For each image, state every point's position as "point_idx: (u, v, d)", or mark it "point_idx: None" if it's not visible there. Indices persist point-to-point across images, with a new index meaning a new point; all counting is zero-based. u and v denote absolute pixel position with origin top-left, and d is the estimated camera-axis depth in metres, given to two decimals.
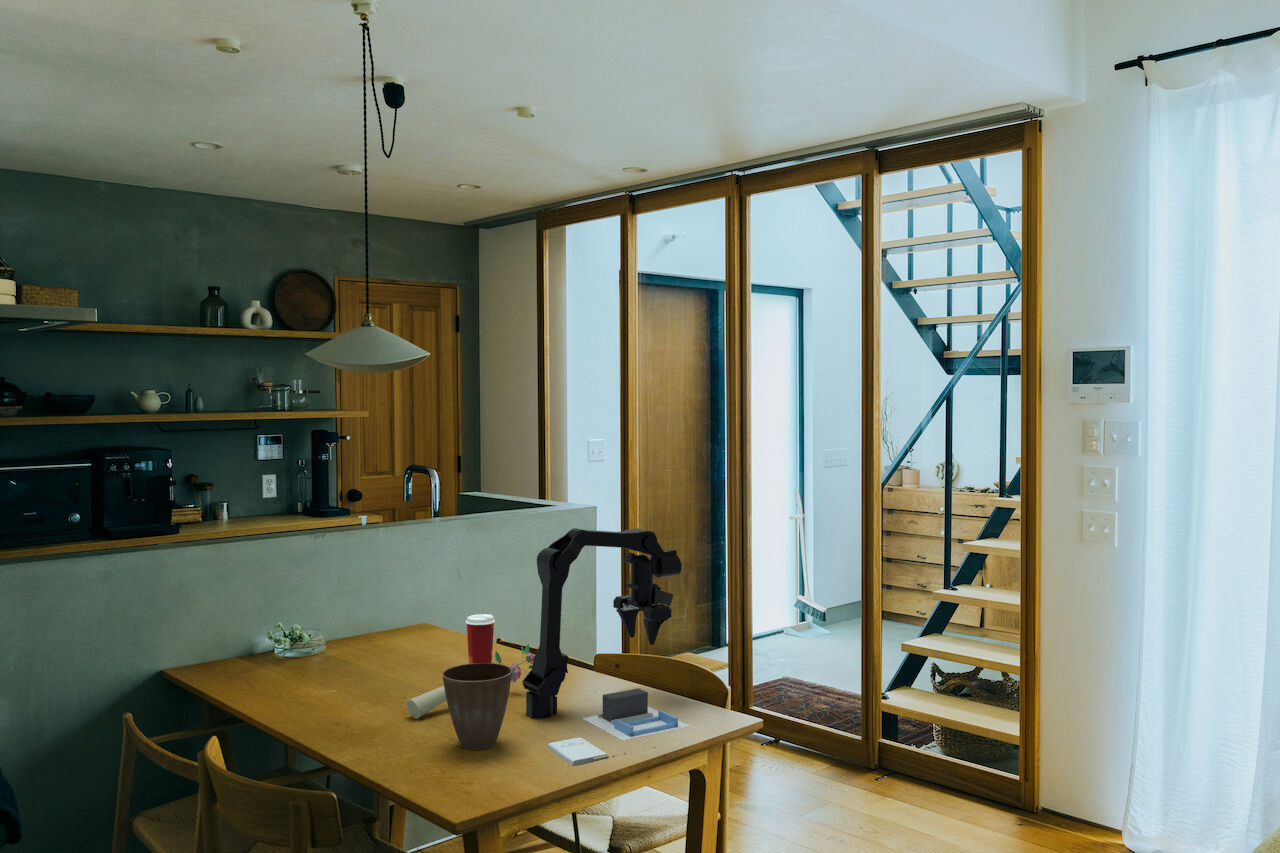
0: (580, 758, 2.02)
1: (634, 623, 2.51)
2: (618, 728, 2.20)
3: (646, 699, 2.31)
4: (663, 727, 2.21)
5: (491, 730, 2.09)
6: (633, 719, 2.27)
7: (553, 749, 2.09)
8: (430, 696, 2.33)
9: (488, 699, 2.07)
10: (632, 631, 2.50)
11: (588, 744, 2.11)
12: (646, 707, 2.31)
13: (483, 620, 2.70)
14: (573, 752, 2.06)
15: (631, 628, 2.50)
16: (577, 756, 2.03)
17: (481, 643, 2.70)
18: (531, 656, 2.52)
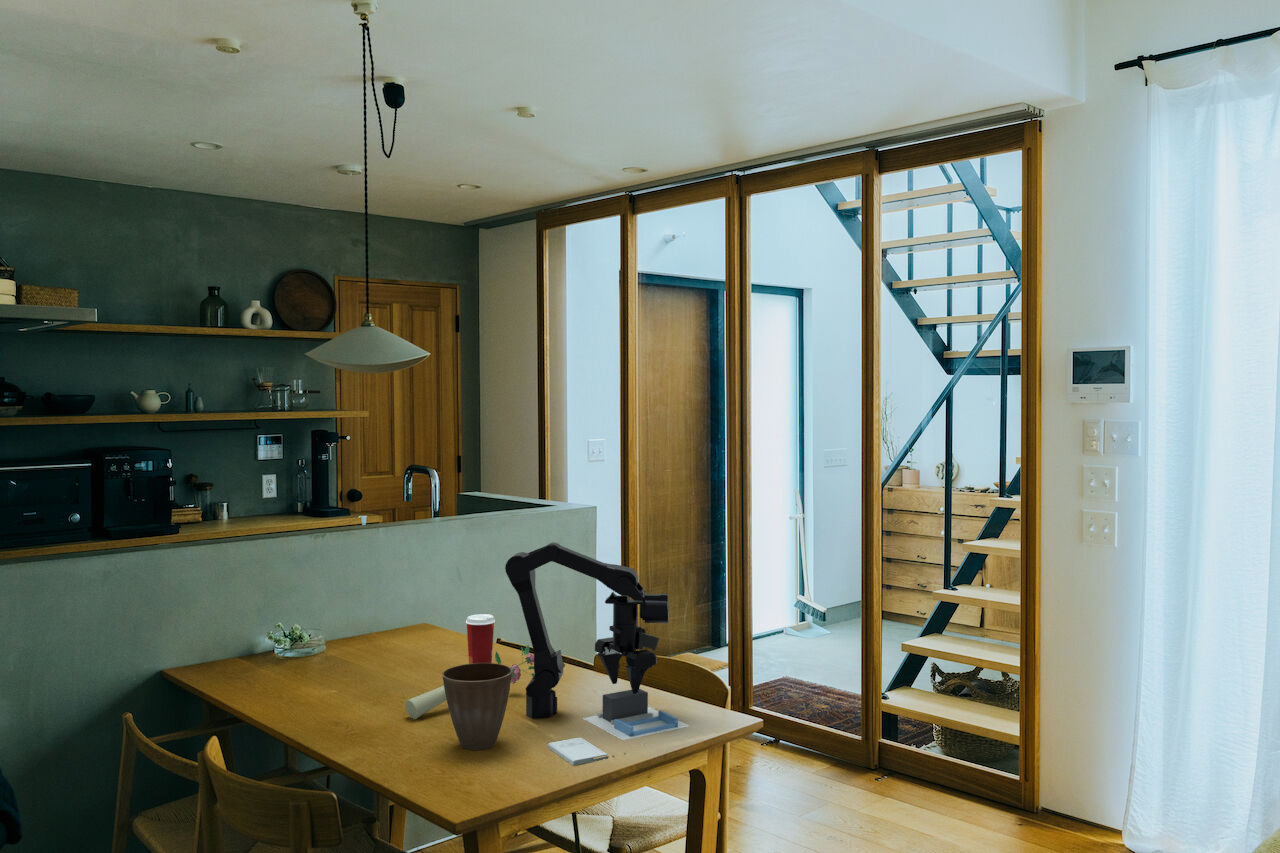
0: (580, 758, 2.02)
1: (617, 668, 2.34)
2: (618, 728, 2.20)
3: (646, 699, 2.31)
4: (663, 727, 2.21)
5: (491, 730, 2.09)
6: (633, 719, 2.27)
7: (553, 749, 2.09)
8: (428, 696, 2.32)
9: (488, 699, 2.07)
10: (614, 677, 2.34)
11: (588, 744, 2.11)
12: (646, 707, 2.31)
13: (483, 620, 2.70)
14: (573, 752, 2.06)
15: (613, 674, 2.34)
16: (577, 756, 2.03)
17: (481, 643, 2.70)
18: (531, 657, 2.51)
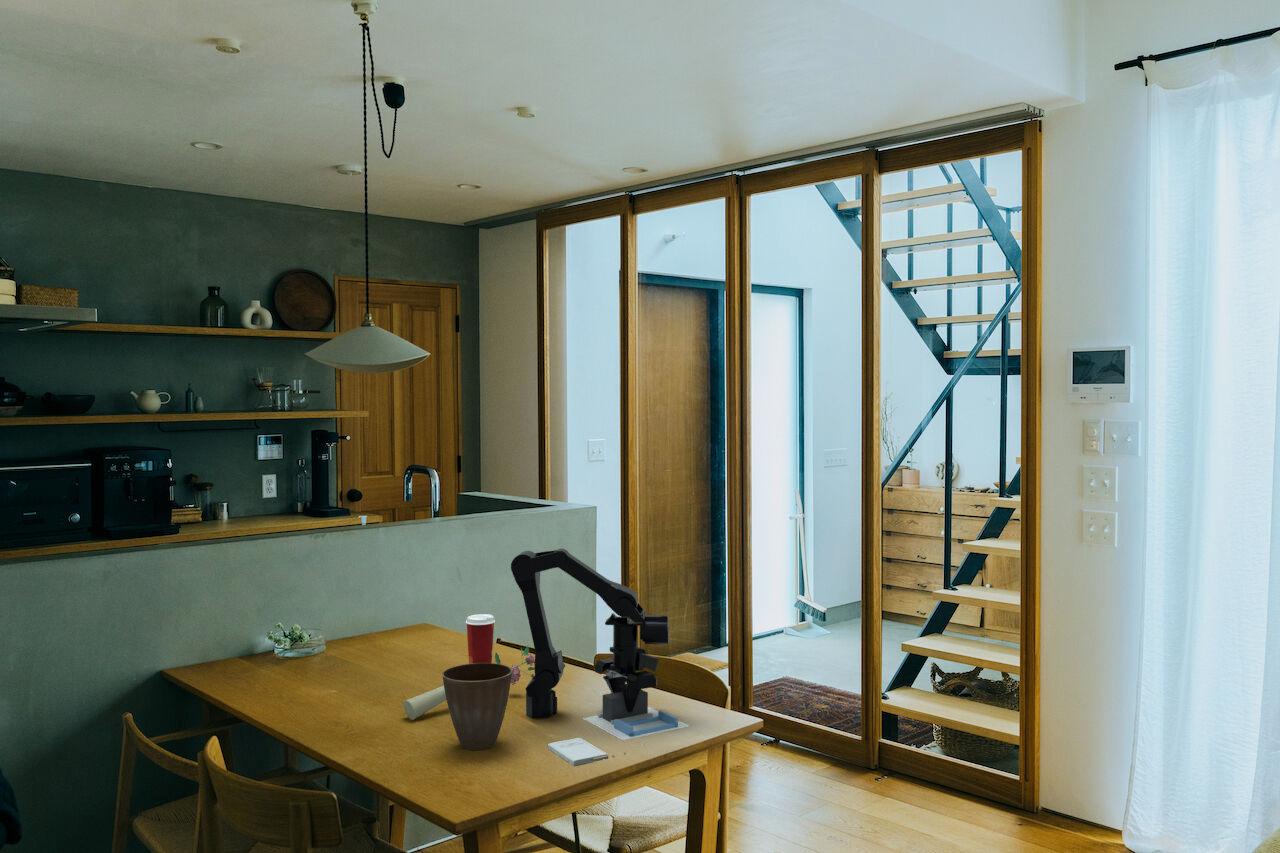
0: (581, 758, 2.02)
1: None
2: (618, 728, 2.20)
3: (646, 699, 2.31)
4: (663, 727, 2.21)
5: (491, 730, 2.09)
6: (633, 719, 2.27)
7: (553, 749, 2.09)
8: (426, 697, 2.32)
9: (488, 699, 2.07)
10: None
11: (588, 744, 2.11)
12: (646, 707, 2.31)
13: (483, 620, 2.70)
14: (573, 752, 2.06)
15: None
16: (577, 756, 2.03)
17: (481, 643, 2.70)
18: (531, 658, 2.50)
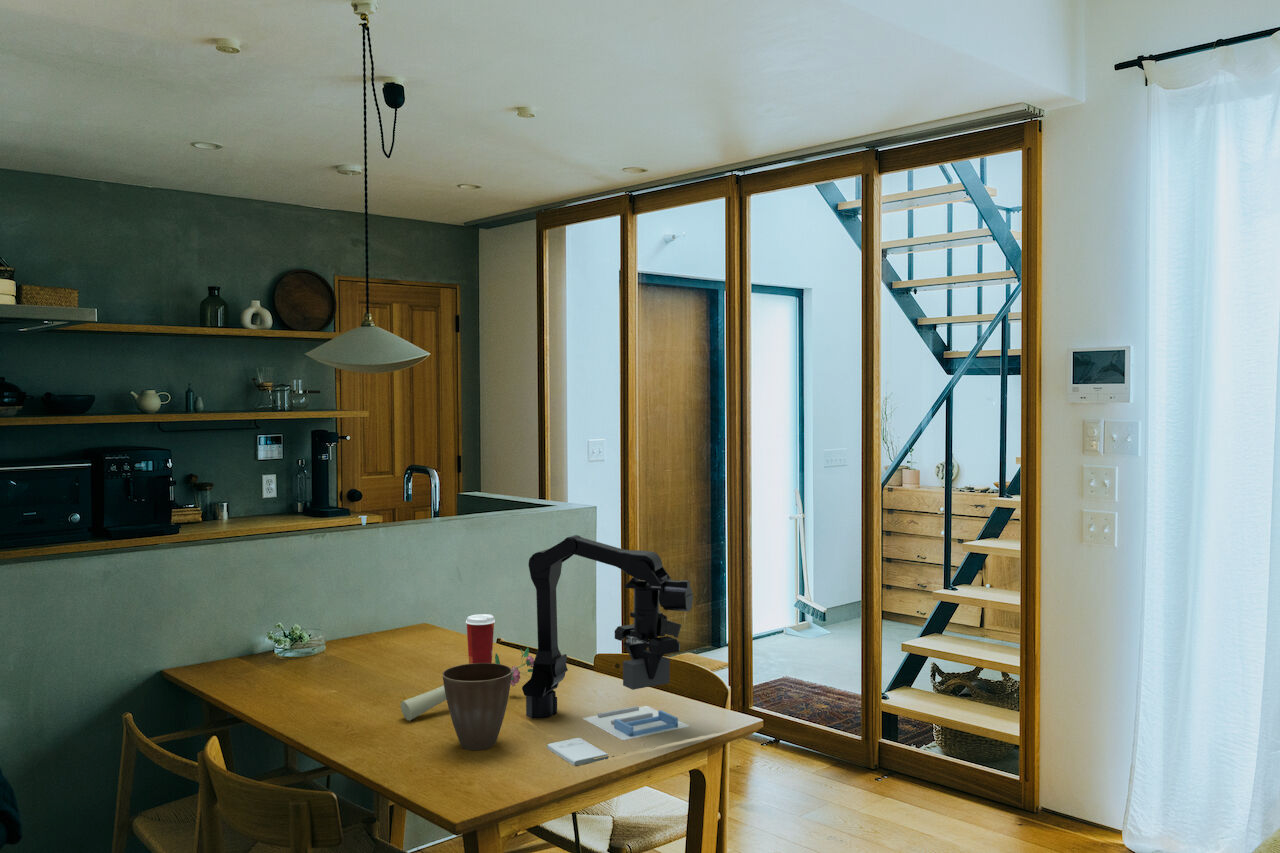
0: (581, 758, 2.02)
1: None
2: (618, 728, 2.20)
3: (668, 666, 2.23)
4: (663, 727, 2.21)
5: (491, 730, 2.09)
6: (633, 719, 2.27)
7: (553, 750, 2.09)
8: (423, 698, 2.31)
9: (488, 699, 2.07)
10: None
11: (587, 744, 2.11)
12: (668, 674, 2.23)
13: (483, 620, 2.70)
14: (573, 752, 2.06)
15: None
16: (577, 757, 2.03)
17: (481, 643, 2.70)
18: (531, 659, 2.49)
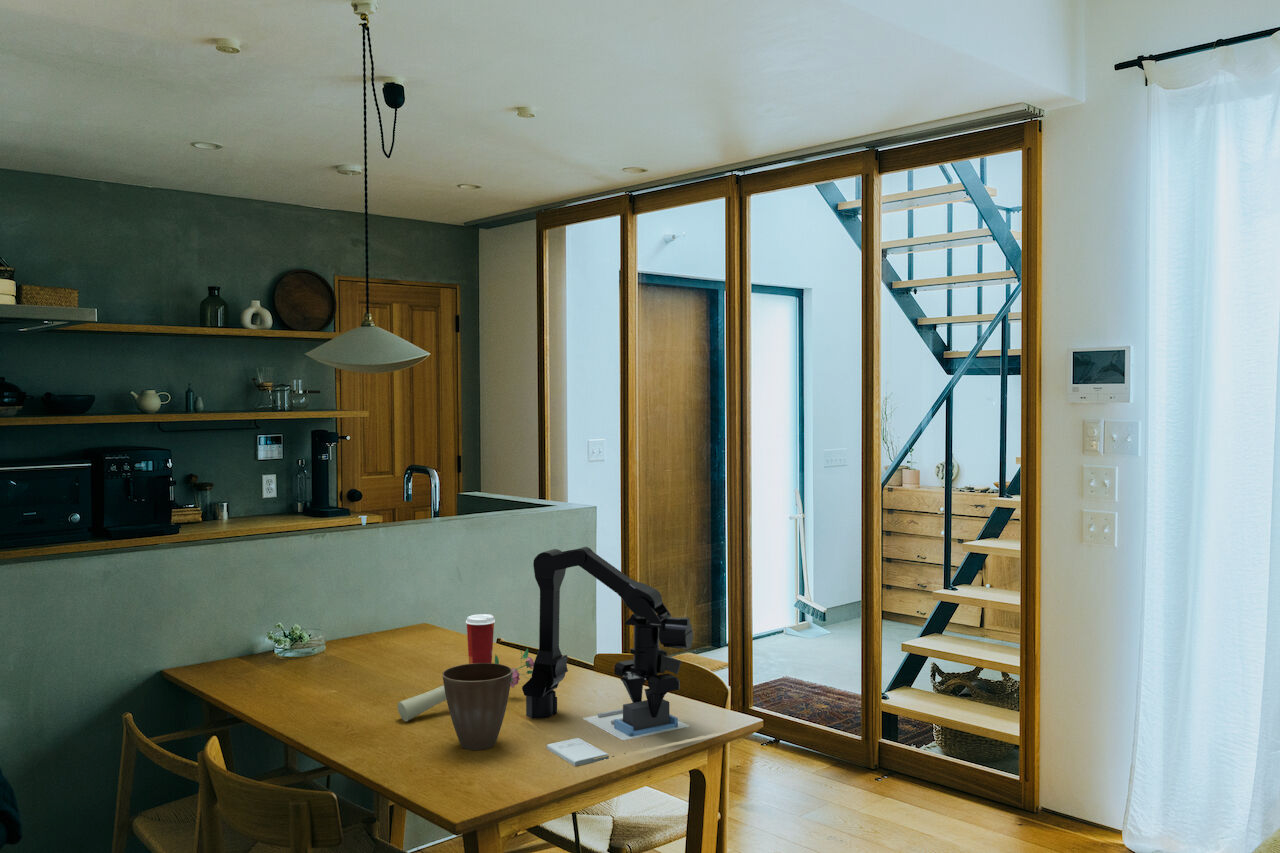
0: (581, 758, 2.02)
1: (640, 693, 2.26)
2: (618, 728, 2.20)
3: (668, 709, 2.23)
4: (663, 727, 2.21)
5: (491, 730, 2.09)
6: None
7: (552, 750, 2.09)
8: (420, 699, 2.30)
9: (488, 699, 2.07)
10: None
11: (587, 744, 2.11)
12: (668, 717, 2.23)
13: (483, 620, 2.70)
14: (573, 752, 2.06)
15: (637, 699, 2.25)
16: (578, 757, 2.03)
17: (481, 643, 2.70)
18: (530, 661, 2.47)
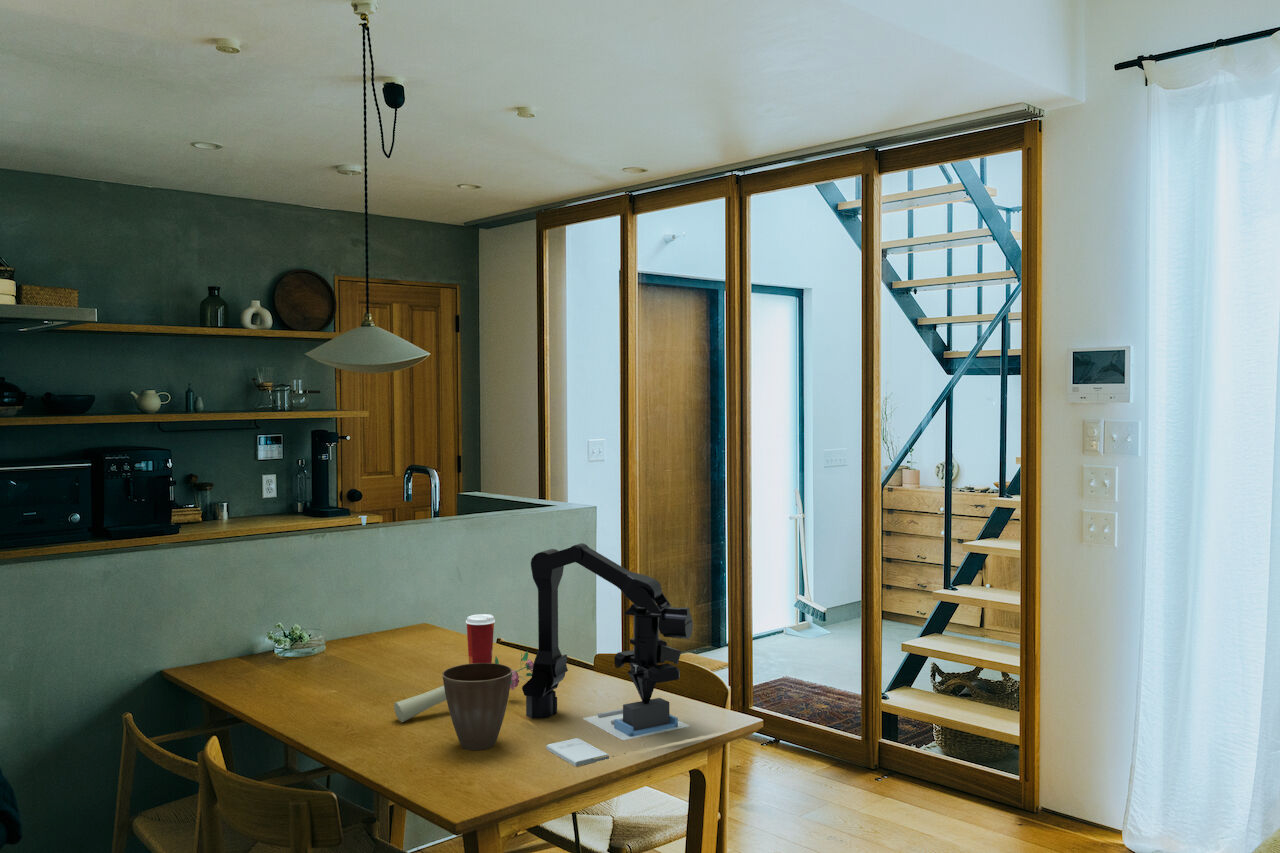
0: (582, 759, 2.02)
1: None
2: (618, 728, 2.20)
3: (668, 709, 2.23)
4: (663, 727, 2.21)
5: (491, 730, 2.09)
6: None
7: (552, 750, 2.08)
8: (416, 700, 2.29)
9: (488, 699, 2.07)
10: None
11: (587, 745, 2.10)
12: (668, 717, 2.23)
13: (483, 620, 2.70)
14: (573, 753, 2.05)
15: None
16: (578, 757, 2.03)
17: (481, 643, 2.70)
18: (530, 663, 2.45)
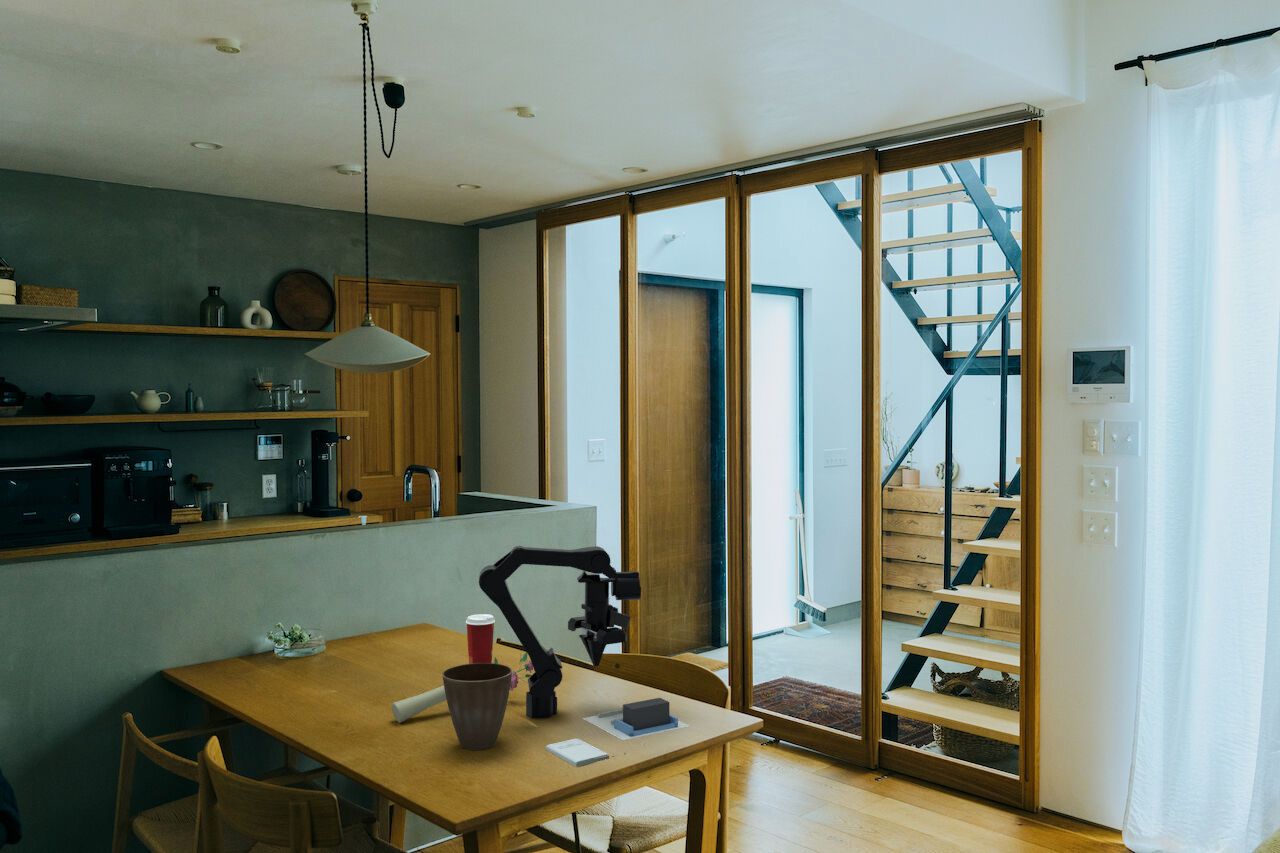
0: (582, 759, 2.02)
1: None
2: (618, 728, 2.20)
3: (668, 709, 2.23)
4: (663, 727, 2.21)
5: (491, 730, 2.09)
6: None
7: (552, 751, 2.08)
8: (414, 700, 2.29)
9: (488, 699, 2.07)
10: None
11: (586, 745, 2.10)
12: (668, 717, 2.23)
13: (483, 620, 2.70)
14: (573, 753, 2.05)
15: None
16: (579, 757, 2.03)
17: (481, 643, 2.70)
18: (529, 664, 2.44)
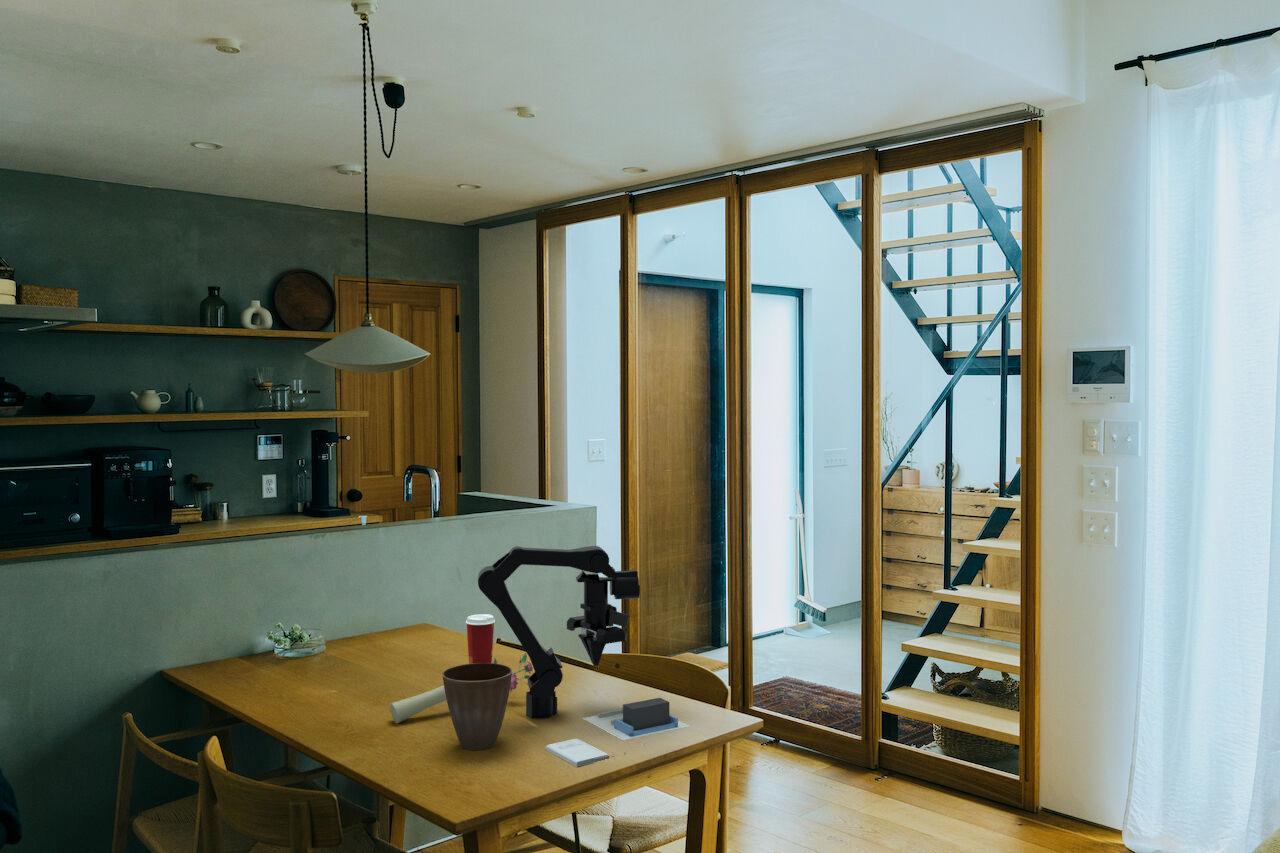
0: (583, 759, 2.02)
1: None
2: (618, 728, 2.20)
3: (668, 709, 2.23)
4: (663, 727, 2.21)
5: (491, 730, 2.09)
6: None
7: (552, 751, 2.08)
8: (412, 701, 2.29)
9: (488, 699, 2.07)
10: None
11: (586, 745, 2.10)
12: (668, 717, 2.23)
13: (483, 620, 2.70)
14: (574, 753, 2.05)
15: None
16: (579, 758, 2.02)
17: (481, 643, 2.70)
18: (529, 665, 2.43)
